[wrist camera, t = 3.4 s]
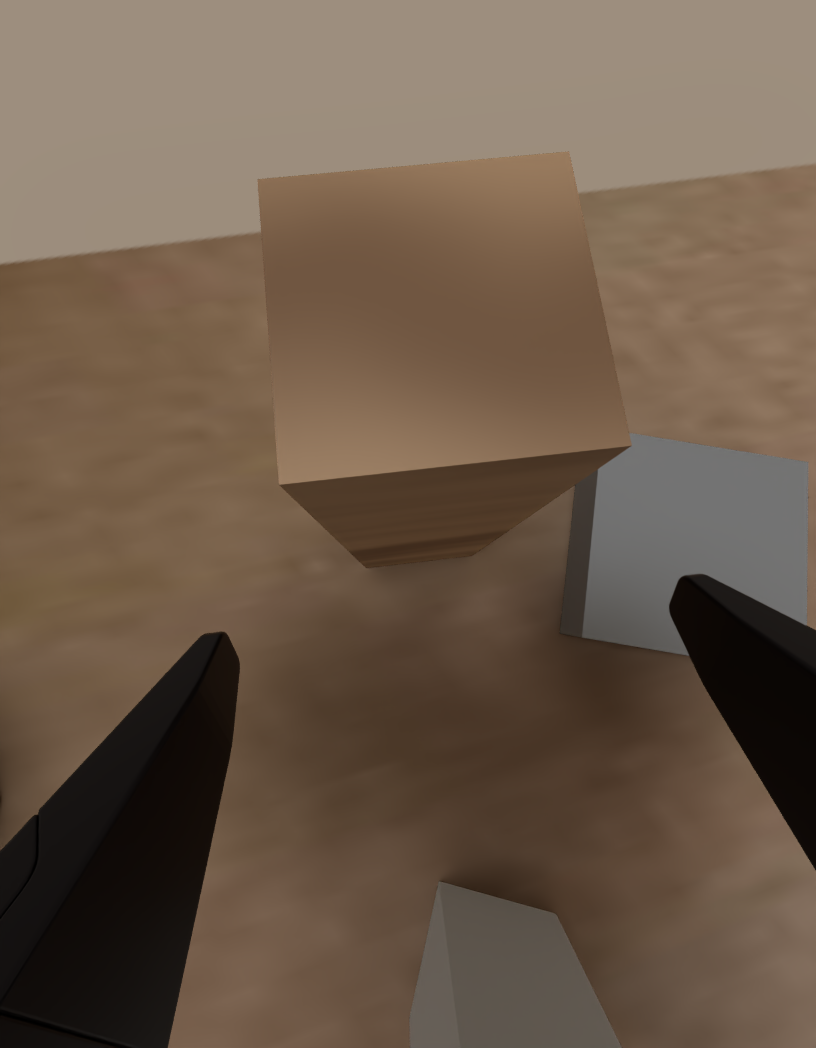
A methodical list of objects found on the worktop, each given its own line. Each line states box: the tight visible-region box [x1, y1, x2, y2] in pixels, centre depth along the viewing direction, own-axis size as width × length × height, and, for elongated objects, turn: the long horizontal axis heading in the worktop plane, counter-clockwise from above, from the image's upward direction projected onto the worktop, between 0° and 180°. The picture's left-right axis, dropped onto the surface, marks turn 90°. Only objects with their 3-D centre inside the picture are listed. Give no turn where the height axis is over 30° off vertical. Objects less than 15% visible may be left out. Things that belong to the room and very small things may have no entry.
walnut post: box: [258, 152, 632, 568], centre depth 14 cm, size 5×5×15 cm
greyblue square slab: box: [560, 433, 808, 656], centre depth 20 cm, size 9×9×3 cm
